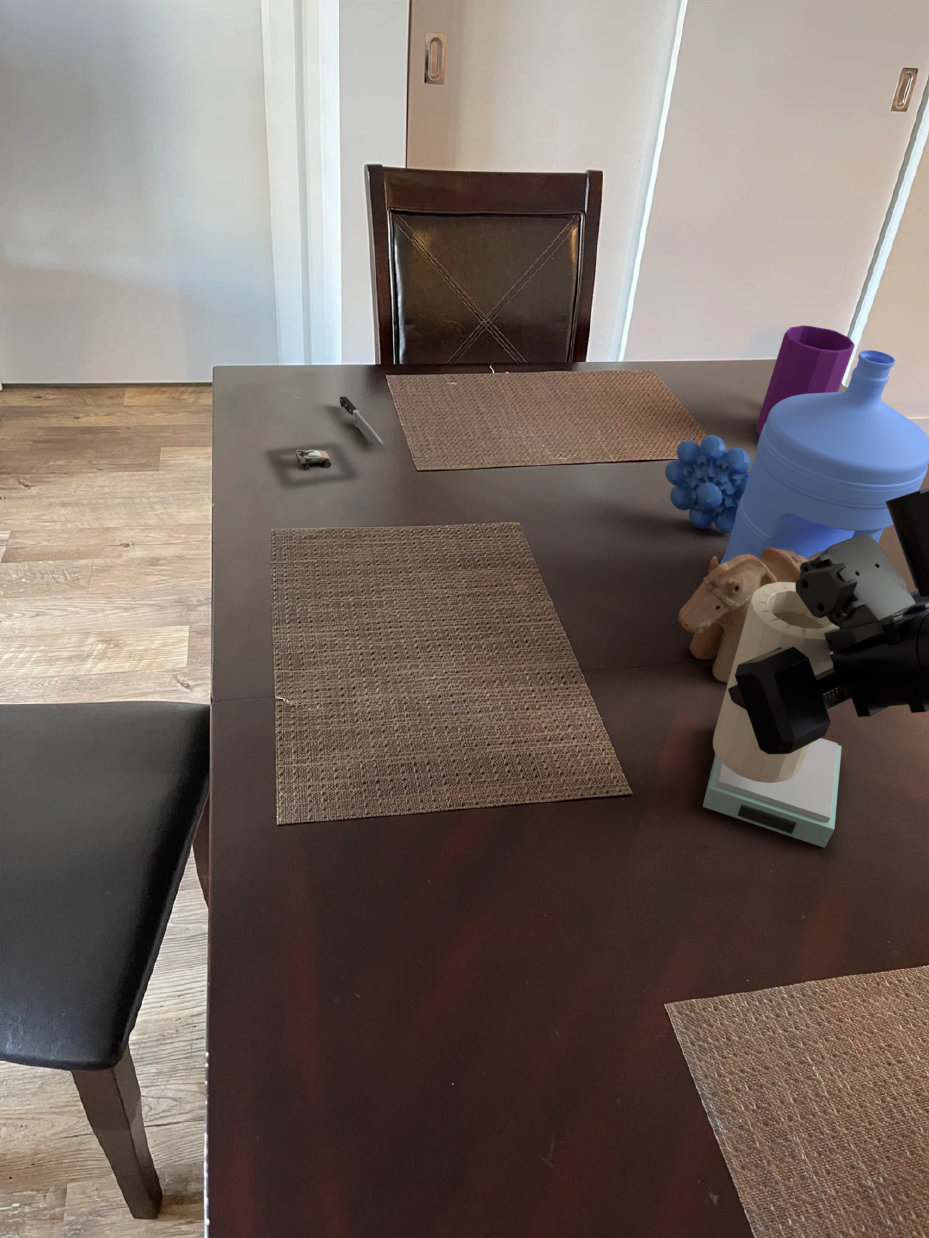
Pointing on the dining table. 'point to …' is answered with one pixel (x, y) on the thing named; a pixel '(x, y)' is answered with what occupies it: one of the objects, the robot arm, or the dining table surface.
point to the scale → (783, 796)
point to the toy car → (313, 458)
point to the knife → (360, 421)
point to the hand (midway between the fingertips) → (766, 679)
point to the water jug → (829, 467)
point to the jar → (766, 628)
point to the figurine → (732, 602)
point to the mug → (807, 366)
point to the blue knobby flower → (709, 482)
